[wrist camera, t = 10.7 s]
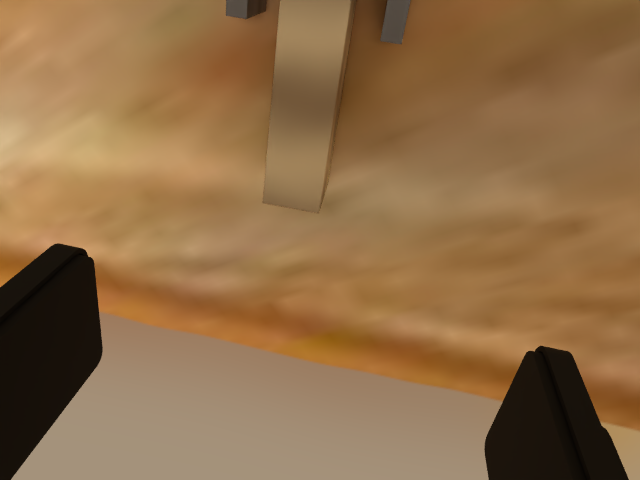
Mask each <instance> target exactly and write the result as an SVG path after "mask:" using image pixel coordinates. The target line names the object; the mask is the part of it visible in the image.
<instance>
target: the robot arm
mask: <svg viewBox="0 0 640 480" xmlns="http://www.w3.org/2000/svg"><path fill="white" fill-rule="evenodd" d="M101 356H102V339H101V328H100V319H99V308H98V298H97V287H96V277H95V267H94V261H93V259H92V258H91V257H88V255H87V252H86V251H85V250H84V249H82V248H77V247H73V246H68V245H63V244H54V245H53V246H51V247H50V248H49V249H47V250H46V251H45V252H44V253H42V254H41V255H40V256H39V257H37V258H36V259H35V260H34V261H32V262H31V263H30V264H29V265H28V266H26V267H25V268H24V269H23V270H21V271H20V272H19V273H18V274H16V275H15V276H14V277H13V278H12V279H10V280H9V281H8V282H7V283H5V284H4V285H3V286H2V287H0V480H11V479H12V477H13V476H14V474H15V473H16V472H17V471H18V469H19V468H20V467H21V465H22V464H23V463H24V461H25V460H26V459H27V457H28V456H29V455H30V453H31V452H32V451H33V450H34V448H35V447H36V446H37V444H38V443H39V442H40V440H41V439H42V438H43V436H44V435H45V434H46V433H47V431H48V430H49V429H50V427H51V426H52V425H53V423H54V422H55V420H56V419H57V418H58V417H59V415H60V414H61V413H62V411H63V410H64V409H65V408H66V406H67V405H68V404H69V402H70V401H71V400H72V398H73V397H74V396H75V394H76V393H77V392H78V390H79V389H80V388H81V387H82V385H83V384H84V382H85V381H86V380H87V379H88V377H89V376H90V375H91V373H92V372H93V371H94V369H95V368H96V367H97V365H98V363H99V362H100V359H101ZM485 458H486V464H487V471H488V477H489V480H629V479H628V477H627V474H626V472H625V469H624V467H623V465H622V462H621V460H620V458H619V455H618V453H617V450H616V448H615V446H614V443H613V441H612V439H611V437H610V435H609V433H608V432H607V430H606V429H605V428H603V427H602V426H601V423H600V421H599V419H598V416H597V414H596V411H595V409H594V406H593V404H592V402H591V399H590V397H589V394H588V392H587V389H586V387H585V385H584V382H583V380H582V377H581V375H580V372H579V370H578V368H577V365H576V363H575V360H574V358H573V356H572V354H571V353H570V352H568V351H563V350H558V349H554V348H549V347H544V346H539V347H538V348H537V349H536V350H535V352H534V351H528V352H527V353H526V354H525V356H524V358H523V360H522V363H521V365H520V367H519V369H518V371H517V373H516V375H515V377H514V379H513V381H512V384H511V386H510V388H509V390H508V392H507V394H506V396H505V398H504V400H503V403H502V405H501V407H500V409H499V411H498V413H497V415H496V417H495V420H494V422H493V424H492V426H491V428H490V430H489V432H488V434H487V437H486V441H485Z"/></svg>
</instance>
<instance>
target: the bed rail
mask: <svg viewBox="0 0 640 480" xmlns="http://www.w3.org/2000/svg"><path fill="white" fill-rule="evenodd" d="M356 1H357V0H280V8H279V19H278V31H277V42H276V54H275V65H274V77H273V89H272V100H271V112H270V123H269V135H268V146H267V158H266V169H265V181H264V192H263V203H264V204H270V205H275V206H281V207H286V208H292V209H297V210H303V211H308V212H314V213H319V211H320V208H321V205H322V201H323V198H324V195H325V191H326V188H327V185H328V180H329V174H330V167H331V161H332V155H333V148H334V142H335V135H336V129H337V123H338V116H339V110H340V103H341V97H342V91H343V84H344V78H345V71H346V65H347V59H348V52H349V46H350V39H351V33H352V27H353V20H354V14H355V7H356Z"/></svg>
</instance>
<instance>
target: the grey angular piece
mask: <svg viewBox="0 0 640 480" xmlns="http://www.w3.org/2000/svg"><path fill="white" fill-rule="evenodd" d="M409 5H410V0H388V2H387V7H386V12H385V18H384V23H383V29H382V34H381V40H380V41H384V42H390V43H396V44H402V39H403V34H404V30H405V25H406V20H407V15H408V10H409ZM264 11H266V0H226V16H231V17H238V18H244V19H248V18H250V17H252V16H255V15H257V14H260V13H262V12H264Z"/></svg>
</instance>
